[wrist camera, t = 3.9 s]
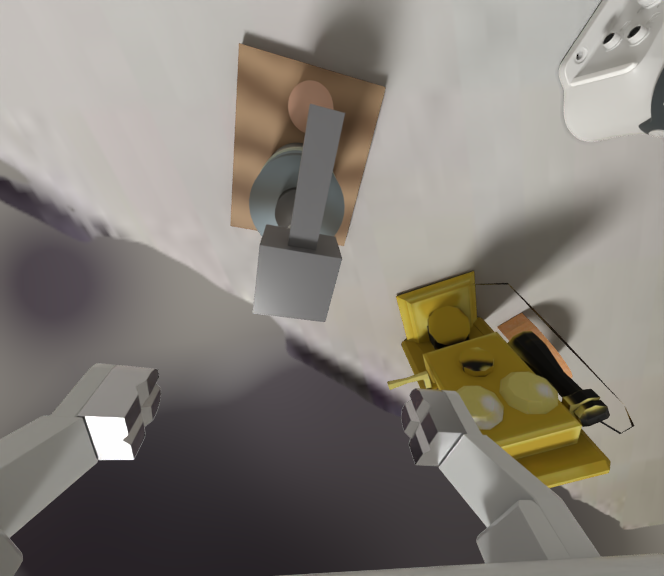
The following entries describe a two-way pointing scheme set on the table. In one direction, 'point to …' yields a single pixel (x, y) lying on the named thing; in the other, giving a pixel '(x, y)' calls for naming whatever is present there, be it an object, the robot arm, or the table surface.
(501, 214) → the table surface
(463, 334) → the vintage telephone
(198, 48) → the table surface
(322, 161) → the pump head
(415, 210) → the table surface
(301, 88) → the pink egg shape
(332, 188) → the stand
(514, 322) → the arch
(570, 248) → the table surface
